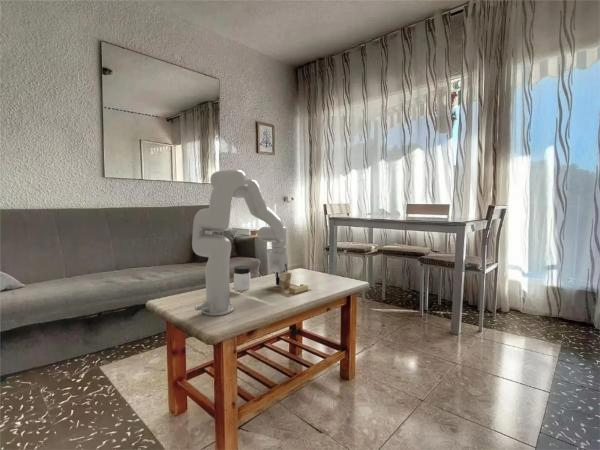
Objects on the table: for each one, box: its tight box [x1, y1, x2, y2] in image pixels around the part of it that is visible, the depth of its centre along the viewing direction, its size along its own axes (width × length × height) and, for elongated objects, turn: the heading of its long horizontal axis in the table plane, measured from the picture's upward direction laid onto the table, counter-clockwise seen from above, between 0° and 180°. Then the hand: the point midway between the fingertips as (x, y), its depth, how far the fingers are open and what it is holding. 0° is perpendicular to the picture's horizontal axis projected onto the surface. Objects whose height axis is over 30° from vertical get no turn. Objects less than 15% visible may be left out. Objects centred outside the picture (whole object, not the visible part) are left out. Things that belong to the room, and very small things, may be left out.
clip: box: [289, 283, 309, 294], centre depth 152 cm, size 9×4×2 cm, turn 134°
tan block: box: [278, 270, 292, 289], centre depth 159 cm, size 4×4×8 cm
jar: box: [233, 265, 252, 294], centre depth 158 cm, size 9×8×12 cm
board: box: [265, 283, 313, 298], centre depth 155 cm, size 17×17×1 cm
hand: (279, 284), depth 163 cm, fingers closed
